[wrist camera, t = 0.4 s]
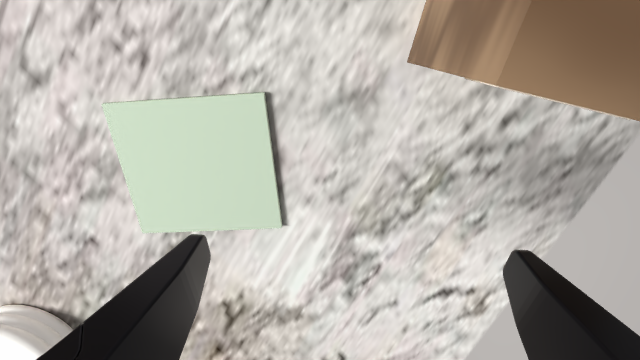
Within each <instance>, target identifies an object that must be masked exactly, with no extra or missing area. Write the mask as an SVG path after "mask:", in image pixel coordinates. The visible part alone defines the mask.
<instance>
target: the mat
mask: <svg viewBox="0 0 640 360" xmlns="http://www.w3.org/2000/svg"><path fill="white" fill-rule="evenodd" d="M102 107H103V110H104V114H105V117H106V120H107V123H108V126H109V129H110V132H111V136H112V139H113V142H114V145H115V148H116V151H117V154H118V158H119V161H120V164H121V167H122V170H123V173H124V176H125V180H126V183H127V186H128V189H129V192H130V195H131V198H132V201H133V205H134V208H135V211H136V214H137V217H138V220H139V223H140V227H141V230H142V233H163V232H190V231H217V230H244V229H272V228H282V218H281V211H280V203H279V195H278V188H277V180H276V173H275V165H274V158H273V150H272V142H271V135H270V127H269V120H268V112H267V105H266V97H265V92H258V93H243V94H229V95H214V96H200V97H185V98H170V99H156V100H141V101H127V102H112V103H103V104H102Z"/></svg>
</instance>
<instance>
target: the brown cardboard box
mask: <svg viewBox="0 0 640 360" xmlns="http://www.w3.org/2000/svg"><path fill="white" fill-rule="evenodd" d="M407 62H408V63H412V64H416V65H420V66H423V67H427V68H431V69H435V70H439V71H442V72H446V73H450V74H454V75H458V76H461V77H465V79H468V80H472V81H476V82H479V83H483V84H487V85H490V86H494V87H498V88H502V89H506V90H510V91H514V92H518V93H522V94H526V95H530V96H534V97H538V98H542V99H546V100H550V101H554V102H558V103H562V104H567V105H571V106H575V107H579V108H583V109H587V110H591V111H595V112H599V113H603V114H607V115H611V116H615V117H619V118H623V119H627V120H630V119H633V120H637V121H640V0H426V3H425V6H424V9H423V13H422V16H421V19H420V22H419V26H418V29H417V32H416V35H415V38H414V42H413V45H412V48H411V51H410V54H409V58H408V61H407Z"/></svg>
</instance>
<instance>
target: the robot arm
mask: <svg viewBox="0 0 640 360" xmlns="http://www.w3.org/2000/svg"><path fill="white" fill-rule="evenodd" d="M210 257H211V255H210V250H209V246H208V243H207V239H206V237H205V236H204V235H199V234H191V235H189V236H188V237H187V238H185V239H184V240H183V241H182V242H181V243H179V244H178V245H177V246H176V247H174V248H173V249H172V250H171V251H170V252H168V253H167V254H166V255H165V256H163V257H162V258H161V259H160V260H159V261H157V262H156V263H155V264H154V265H152V266H151V267H150V268H149V269H148V270H146V271H145V272H144V273H143V274H141V275H140V276H139V277H138V278H137V279H135V280H134V281H133V282H132V283H130V284H129V285H128V286H127V287H126V288H124V289H123V290H122V291H121V292H119V293H118V294H117V295H116V296H115V297H113V298H112V299H111V300H110V301H108V302H107V303H106V304H105V305H104V306H102V307H101V308H100V309H99V310H97V311H96V312H95V313H94V314H93V315H91V316H90V317H89V318H88V319H86V320H85V321H84V323H83V324H80V325H79V326H78V327H77V328H75V329H74V330H73V331H72V332H70V333H69V334H68V335H67V336H66V337H64V338H63V339H62V340H60V341H59V342H58V343H57V344H55V345H54V346H53V347H52V348H50V349H49V350H48V351H47V352H45V353H44V354H43V355H41V356H40V357H39V358H37V359H36V360H179V359H180V356H181V353H182V351H183V348H184V345H185V343H186V340H187V337H188V334H189V332H190V329H191V326H192V324H193V321H194V318H195V316H196V313H197V310H198V307H199V303H200V299H201V295H202V291H203V287H204V283H205V279H206V275H207V271H208V267H209V263H210ZM503 277H504V281H505V285H506V289H507V293H508V297H509V300H510V304H511V308H512V312H513V316H514V319H515V323H516V326H517V329H518V332H519V335H520V338H521V340H522V343H523V345H524V348H525V351H526V353H527V356H528V359H529V360H640V336H639V335H637V334H636V333H635V332H634V331H632V330H631V329H630V328H628V327H627V326H626V325H625V324H623V323H622V322H621V321H619V320H618V319H617V318H616V317H614V316H613V315H612V314H610V313H609V312H608V311H607V310H605V309H604V308H603V307H602V306H600V305H599V304H598V303H596V302H595V301H594V300H593V299H591V298H590V297H588V296H587V295H586V294H585V293H584V292H582V291H581V290H580V289H578V288H577V287H576V286H574V285H573V284H572V283H571V282H569V281H568V280H567V279H565V278H564V277H563V276H562V275H560V274H559V273H558V272H557V271H555V270H554V269H553V268H551V267H550V266H549V265H548V264H546V263H545V262H543V261H542V260H541V259H540V258H539V257H537V256H536V255H535V254H533V253H532V252H531V251H528V250H514V251H512V253H511V254H510V256H509V258H508V260H507V262H506V264H505V266H504V268H503Z"/></svg>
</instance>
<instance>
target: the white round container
mask: <svg viewBox="0 0 640 360" xmlns="http://www.w3.org/2000/svg"><path fill="white" fill-rule="evenodd" d="M72 331H73V329H72V328H71V327H70V326H69V325H68V324H66V323H65V322H64V321H62V320H61V319H60V318H58V317H56V316H54V315H53V314H51V313H49V312H46V311H44V310H41V309H38V308H35V307H31V306H25V305H4V306H0V360H36V359H37V358H39V357H40V356H41V355H43V354H44V353H45V352H47V351H48V350H49V349H50V348H52V347H53V346H54V345H55V344H57V343H58V342H59V341H60V340H62V339H63V338H64V337H66V336H67V335H68V334H69V333H70V332H72Z"/></svg>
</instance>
